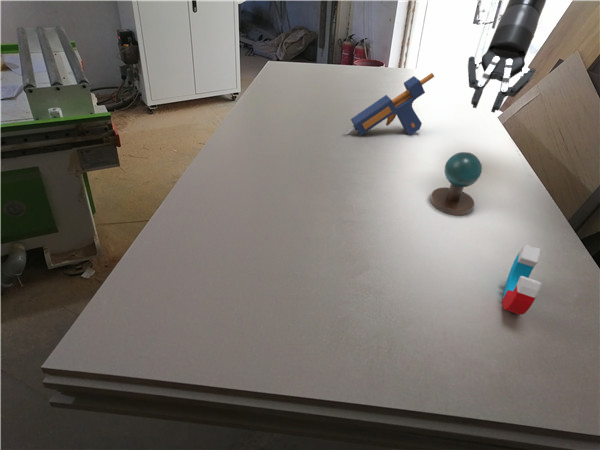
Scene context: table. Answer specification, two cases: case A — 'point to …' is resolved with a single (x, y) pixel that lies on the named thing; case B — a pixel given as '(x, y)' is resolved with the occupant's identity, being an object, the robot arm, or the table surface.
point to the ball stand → (457, 184)
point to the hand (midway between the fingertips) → (484, 108)
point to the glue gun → (393, 109)
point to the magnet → (521, 282)
